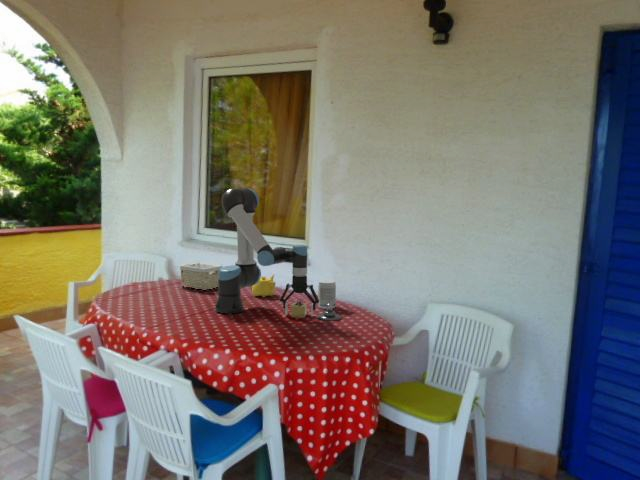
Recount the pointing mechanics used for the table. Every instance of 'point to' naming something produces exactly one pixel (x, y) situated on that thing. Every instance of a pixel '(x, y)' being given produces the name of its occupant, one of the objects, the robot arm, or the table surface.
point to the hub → (329, 314)
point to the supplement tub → (326, 293)
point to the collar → (299, 310)
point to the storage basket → (200, 275)
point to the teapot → (264, 287)
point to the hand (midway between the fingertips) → (299, 315)
